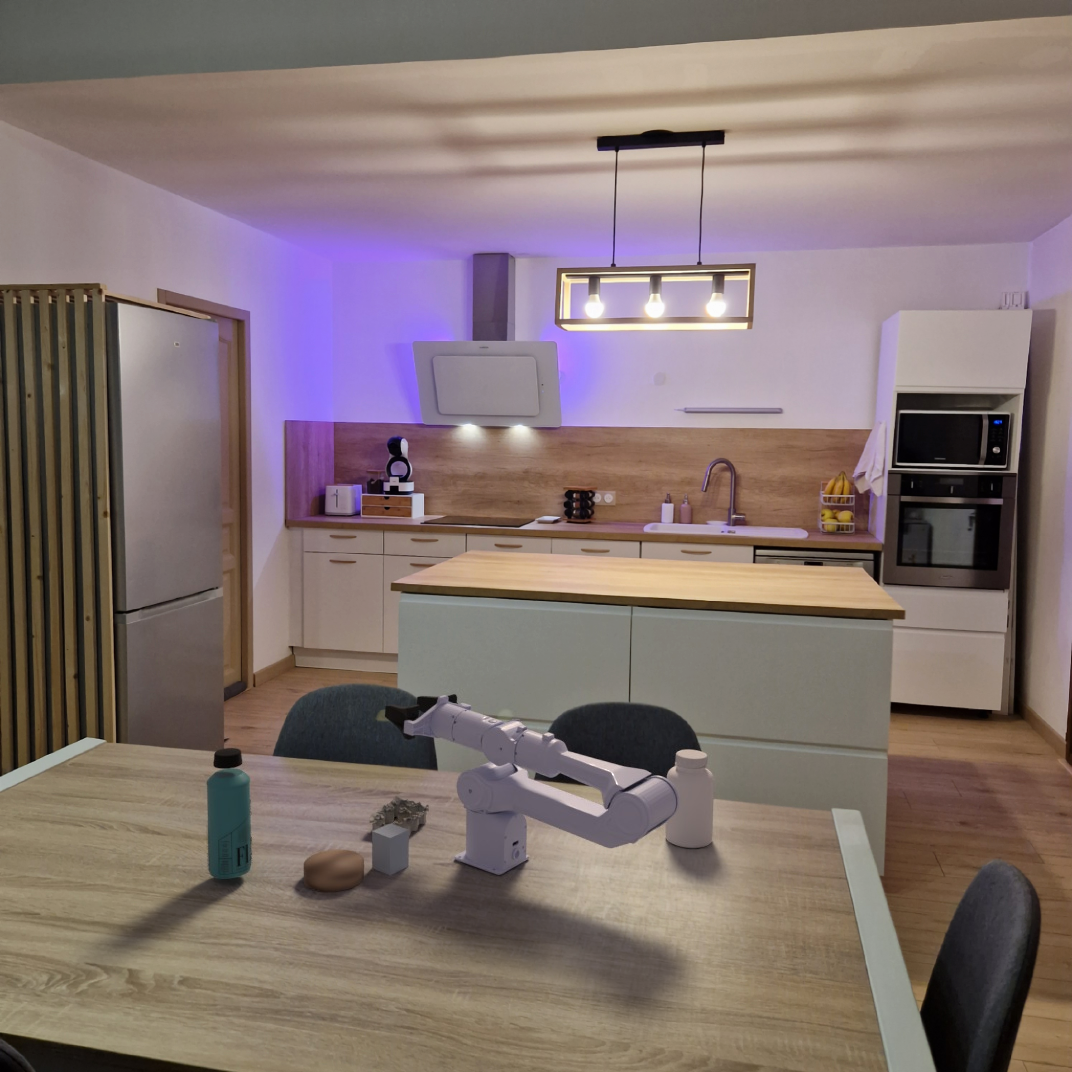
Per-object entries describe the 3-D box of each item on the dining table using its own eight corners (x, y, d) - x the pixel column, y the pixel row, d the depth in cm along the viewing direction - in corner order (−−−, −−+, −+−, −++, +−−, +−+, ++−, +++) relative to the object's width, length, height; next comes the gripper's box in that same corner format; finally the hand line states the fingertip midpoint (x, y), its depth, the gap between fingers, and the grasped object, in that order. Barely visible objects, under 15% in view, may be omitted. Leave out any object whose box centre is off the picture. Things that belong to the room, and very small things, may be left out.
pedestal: (376, 875, 143) (376, 860, 143) (331, 897, 136) (331, 881, 135) (336, 859, 148) (336, 844, 148) (291, 880, 141) (291, 864, 141)
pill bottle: (709, 831, 162) (713, 747, 161) (714, 851, 154) (717, 763, 153) (664, 828, 163) (666, 745, 162) (665, 848, 155) (668, 760, 154)
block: (408, 866, 146) (408, 829, 146) (390, 875, 143) (390, 837, 143) (390, 859, 149) (390, 823, 148) (372, 868, 146) (372, 831, 145)
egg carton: (403, 844, 155) (403, 821, 155) (364, 837, 158) (364, 813, 158) (433, 820, 165) (433, 798, 165) (396, 814, 168) (396, 792, 167)
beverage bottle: (238, 891, 137) (237, 759, 135) (198, 886, 138) (196, 755, 137) (260, 872, 143) (259, 745, 142) (221, 867, 145) (219, 742, 143)
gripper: (492, 694, 156) (433, 676, 164) (434, 712, 145) (373, 691, 153) (489, 734, 157) (430, 714, 165) (431, 755, 146) (370, 733, 153)
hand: (402, 706), depth 159 cm, fingers open, 7 cm apart
